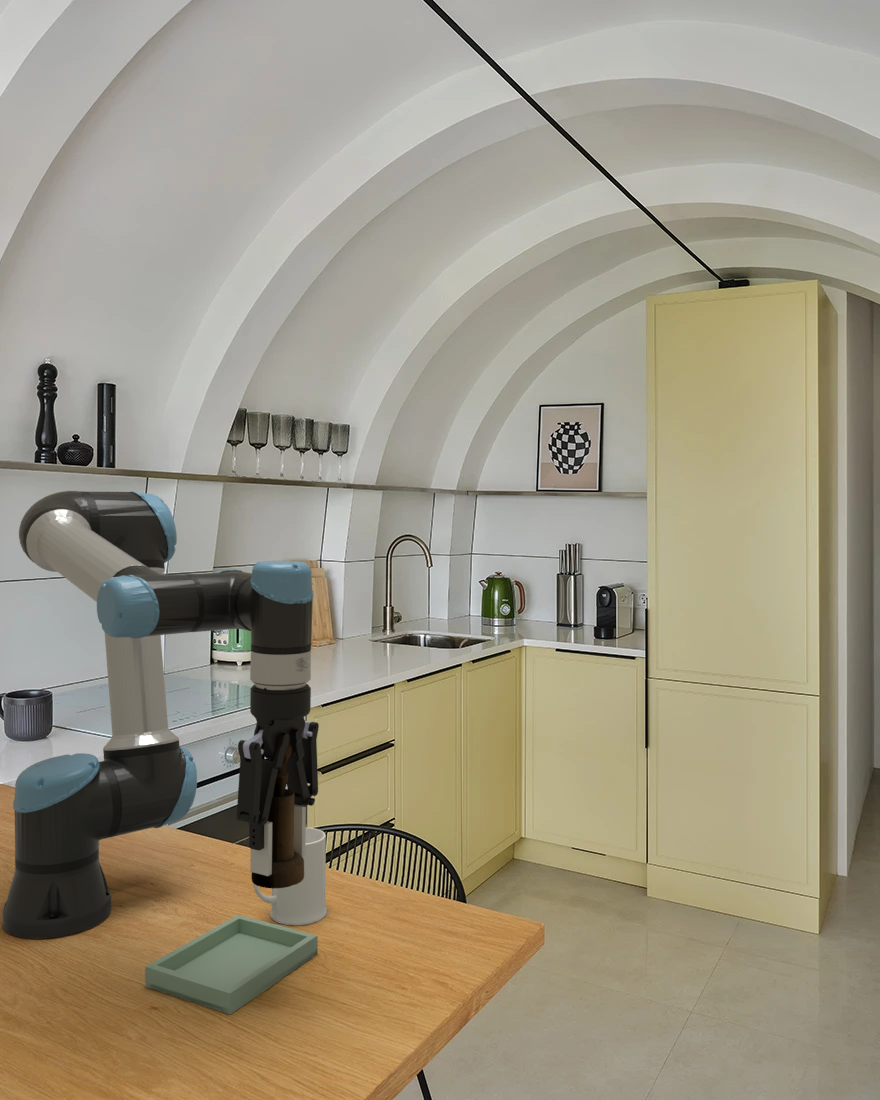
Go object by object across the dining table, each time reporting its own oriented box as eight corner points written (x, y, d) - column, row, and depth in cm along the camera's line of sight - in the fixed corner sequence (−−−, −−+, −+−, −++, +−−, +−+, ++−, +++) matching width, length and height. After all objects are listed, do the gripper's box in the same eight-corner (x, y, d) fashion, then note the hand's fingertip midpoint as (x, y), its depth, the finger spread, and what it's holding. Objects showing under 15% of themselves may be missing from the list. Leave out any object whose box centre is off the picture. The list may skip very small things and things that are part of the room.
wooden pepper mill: (280, 864, 124) (282, 730, 123) (314, 878, 120) (317, 738, 119) (240, 879, 119) (242, 739, 118) (274, 894, 114) (277, 748, 114)
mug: (262, 936, 134) (262, 853, 134) (241, 914, 142) (241, 836, 141) (336, 917, 141) (336, 838, 140) (312, 898, 148) (312, 823, 148)
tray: (145, 986, 120) (145, 966, 120) (238, 932, 136) (238, 914, 135) (230, 1014, 113) (230, 993, 113) (317, 953, 129) (317, 935, 129)
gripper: (255, 700, 108) (253, 897, 109) (348, 675, 125) (345, 845, 126) (205, 693, 111) (203, 883, 112) (302, 669, 128) (299, 835, 129)
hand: (278, 863), depth 119 cm, fingers closed on wooden pepper mill, 6 cm apart
